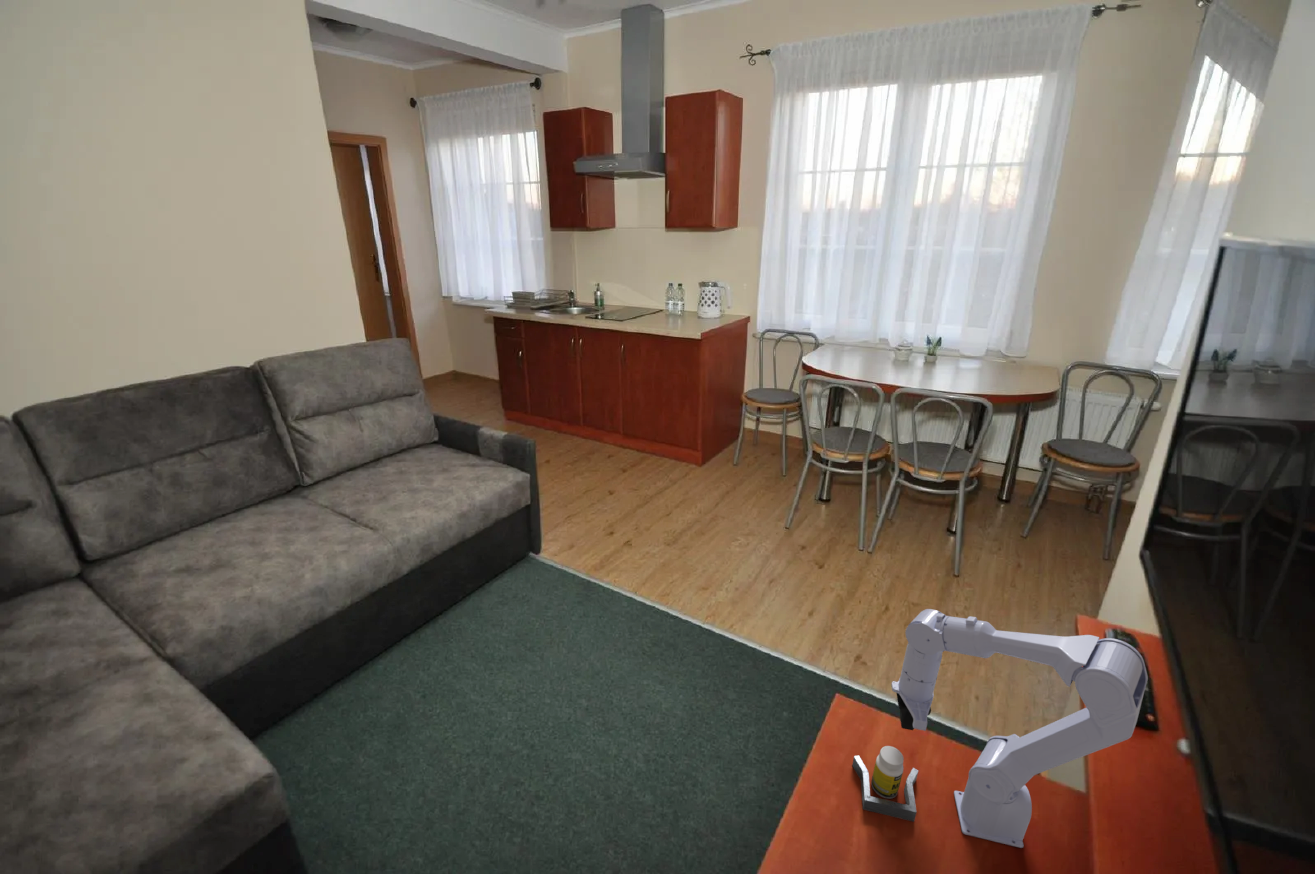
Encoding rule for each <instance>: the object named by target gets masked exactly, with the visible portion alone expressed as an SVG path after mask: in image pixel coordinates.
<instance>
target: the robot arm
mask: <svg viewBox="0 0 1315 874" xmlns="http://www.w3.org/2000/svg"><path fill="white" fill-rule="evenodd" d="M904 633H905V638H906V640H907V644H906V649H905V654H904V658H903V662H902V668H901V673H900V676H899V679H898V681H895V680H894V681H891V690H892V692H893V693H896V700H897V701H896V702H897V705H898V709H899V719H900V726H901V729H904V730H908V731H914V730H920V731H926V730H927V728H928V727H927V726H928V716H929V715H931V712H932V707H931V706H932V703H933V701H934V697H935V695H934V691H935V686H936V683H937V679H938V675H939V671H940V666H941V662H942V658H943V652H951V653H955V654H960V655H967V656H971V657H977V658H983V659H989V658H990V657H992V656H993V655H994V654H996V653H997V654H999V655H1005V656H1009V657H1013V658H1016V659H1021V660H1026V661H1029V662H1033V663H1037V664H1043V665H1046V666H1050V667H1052V668H1053V669H1054V670H1055V672H1056V674H1057V675H1058V676H1059V678H1061V680H1062V681H1063V683H1064V684H1065V685H1066V686H1067V687H1069V688H1070V687H1071V686H1072V684H1073V682H1074V684H1075V689H1076V691H1077V694H1078V695H1079V697H1080V698H1081V700H1082V702H1083V704H1084V706H1085V707H1084V708H1082V709H1080V710H1077V711H1076V712H1072V713H1071V714H1068V715H1067V716H1064V717H1061V718H1060V719H1058V720H1056V721H1053V722H1050V723H1049V724H1047V725H1044V726H1042V727H1039V728H1038V729H1036V730H1033V731H1031V732H1028V733H1027V734H1024V735H1021V736H1019V735H1017V734H1016V733H1013V734H1010V735H1007V736H1005V735H993V736H990V738H988V739H987V741H986V745H985V746H984V749H983V750H982V752H981V753H980V755H979V757H978V759H976V762H975V763H974V764H973V765H972V767H970V769H969V771H968V779H967V781H966V785H965V788H964V791H959V790H954V791H953V795H954V796H953V797H954V800H955V805H956V810H957V815H958V821H959V824H960V830H961V832H962V834H963V835H966V836H970V837H974V838H979V839H983V840H986V841H987V840H988V841H992V842H995V843H999V844H1003V845H1004V844H1005V845H1007V846H1011V847H1016V848H1020V849H1022V848H1024V842H1023V839H1025V835H1026V832H1027V829H1028V828H1029V827H1028V826H1029V824H1030V822H1031V818H1032V811H1033V810H1032V809H1033V807H1032V806H1033V805H1032V798H1031V795H1030V791H1029V789H1028V787H1027V786H1026V784H1027V783H1028V782H1029V781H1030V780H1031V779H1032V778H1033V777H1034V776H1036V775H1038V774H1040V773H1044V772H1046V771H1049V770H1051V769H1054V768H1056V767H1059V766H1062V765H1064V764H1067V763H1070V762H1072V761H1073V762H1074V760H1077V759H1078V760H1079V759H1081V758H1083V757H1085V756H1088V755H1090V754H1092V753H1096V752H1098V751H1101V750H1104V749H1106V748H1109V747H1111V746H1114V745H1117V744H1119V743H1122V742H1125V741H1127V740H1129V739H1131V737H1133V734H1134V731H1135V729H1136V725H1137V723H1138V718H1139V714H1140V710H1141V706H1142V702H1143V698H1144V694H1145V690H1146V688H1147V685H1148V684H1147V683H1148V680H1149V676H1148V672H1147V668H1146V664H1145V660H1144V658H1143V656H1142V655H1141V653H1140V651H1138V650H1137V649H1136V648H1135V647H1134V646H1132V645H1131V644H1129V643H1128V642H1126V641H1124V640H1120V639H1117V638H1113V637H1112V638H1111V637H1106V638H1100V637H1099V636H1096V635H1093V634H1084V635H1083V634H1081V635H1080V634H1079V635H1070V636H1063V635H1062V636H1061V635H1060V636H1059V635H1050V634H1040V633H1031V632H1030V633H1029V632H1017V631H1007V630H997V629H996V628H995V627H994V626H993V625H992V624H991V623H990V622H988V621H984V620H979V619H978V618H977V617H976V616H969V615H968V617H967V618H965V617H956V616H950V615H946V614H944V613H943V612H941V611H939V610H936V609H932V608H926V609H924V610H921V611H920V612H919V613H918V615H916V616H915V617H914V618H913V620H911V622H909V624H908V625H907V627H906V629H905V632H904Z"/></svg>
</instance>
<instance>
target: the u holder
mask: <svg viewBox="0 0 1315 874" xmlns="http://www.w3.org/2000/svg"><path fill="white" fill-rule="evenodd" d="M851 766H852V768H853V770H854V771H855V773H856V775H857V777H858V778H859V780H860V789H861V801H862V802H861V804H862V810H864V811H867V812H873V813H877V814H880V815H885V816H889V817H893V818H896V819H901V820H906V821H909V822H913V823H914V822H915V820H916V816H917V807H916V806H917V805H916V799H915V793H914V785H915V784H916V781H917V778H918V774H919V770H918V769H916V768H915V767H912V769H911V770H910V773H909V774H908V776H907V778H906V780H905V784H904V789H903V792H904V793H903V794H904V799H905V800H904V801H905V803H900V802H897V801H893V800H890V799H886V798H880V797H876V796H871V789H870V787H871V786H870V774H869V770H868V769H867V767H866V764H864V762H863V760H862V758H861V757H860V755H854V756H853V760H852V764H851Z"/></svg>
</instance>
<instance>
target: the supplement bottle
mask: <svg viewBox="0 0 1315 874" xmlns="http://www.w3.org/2000/svg"><path fill="white" fill-rule="evenodd" d="M875 759H876V760H875V762H874V763H875V764H874V767H873V773H872V777H871V781H870V783H871V788H872V790H873V791H874V793H876V795H878V796H879V797H881V798H882V799H886V800H890V799H891V800H892V799H893V798H896V797H897V796H898V793H899V789H900V785H901V781H902V777H903V773H904V759H905V758H904V755H903V753H902V752H901V751H900V750H899V749H898V748H896V747H894V746H891V745H885V746H883V747H882V748H881V749H880V751H879V754H878V755H877V756H876V758H875Z"/></svg>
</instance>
